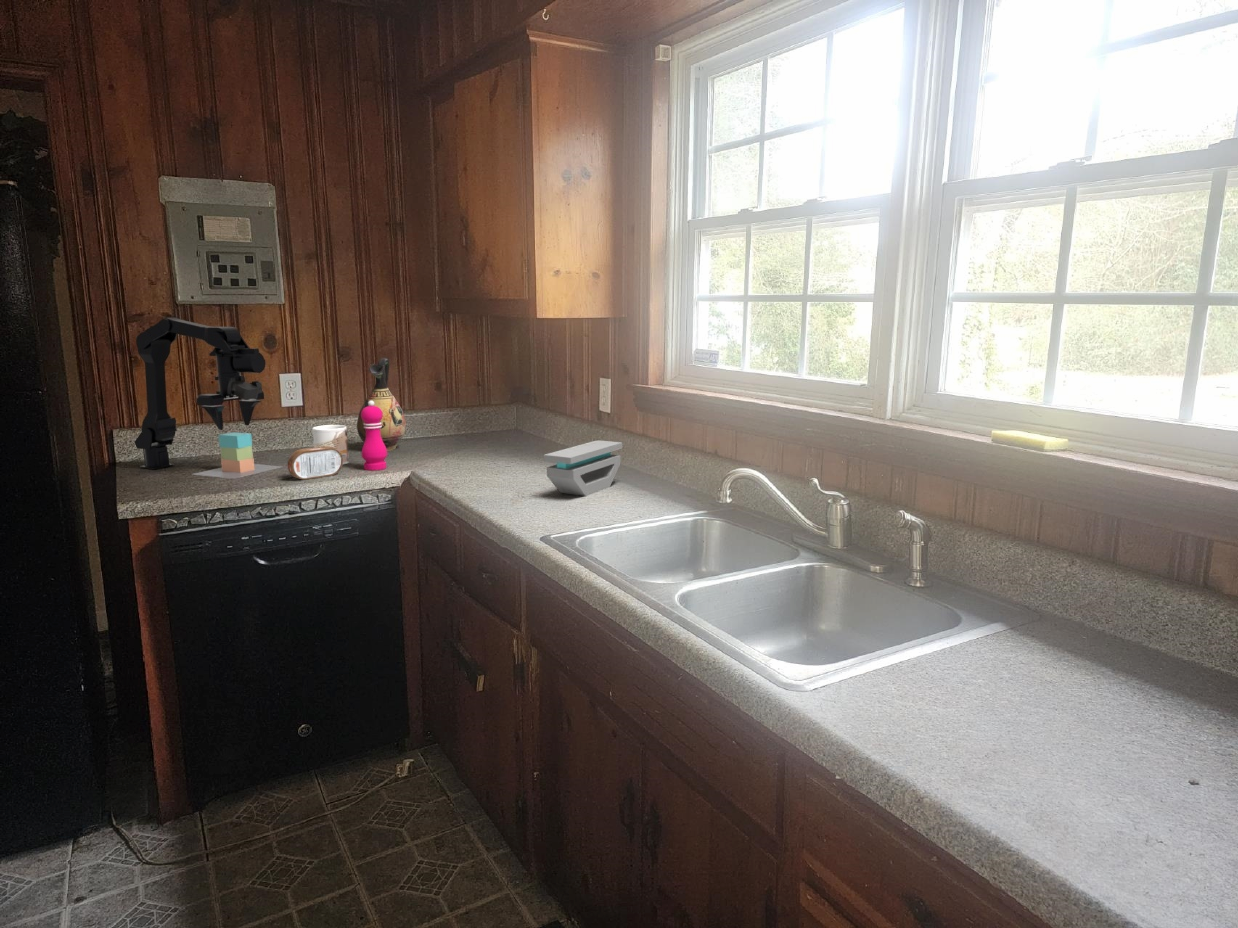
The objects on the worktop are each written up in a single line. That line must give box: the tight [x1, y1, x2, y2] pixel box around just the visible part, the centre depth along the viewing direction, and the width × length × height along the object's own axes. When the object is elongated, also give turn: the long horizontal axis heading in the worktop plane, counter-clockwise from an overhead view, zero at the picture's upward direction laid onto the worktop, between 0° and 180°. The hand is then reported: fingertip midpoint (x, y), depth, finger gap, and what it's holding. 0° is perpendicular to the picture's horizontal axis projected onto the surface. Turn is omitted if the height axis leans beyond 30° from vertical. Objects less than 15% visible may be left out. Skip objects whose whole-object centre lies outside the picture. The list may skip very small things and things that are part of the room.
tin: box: [287, 446, 344, 481], centre depth 224 cm, size 15×3×8 cm, turn 134°
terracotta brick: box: [220, 457, 255, 473], centre depth 231 cm, size 7×5×4 cm
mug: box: [311, 424, 350, 465], centre depth 245 cm, size 10×12×11 cm
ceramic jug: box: [356, 357, 407, 452], centre depth 266 cm, size 17×15×30 cm
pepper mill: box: [361, 401, 388, 471], centre depth 234 cm, size 7×7×20 cm
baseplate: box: [191, 463, 283, 480], centre depth 231 cm, size 16×18×1 cm
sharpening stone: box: [543, 439, 623, 497], centre depth 207 cm, size 25×8×11 cm, turn 150°
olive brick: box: [219, 445, 254, 461], centre depth 230 cm, size 7×5×4 cm
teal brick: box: [218, 431, 253, 448], centre depth 230 cm, size 7×5×4 cm
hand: (234, 427), depth 229 cm, fingers open, 9 cm apart
